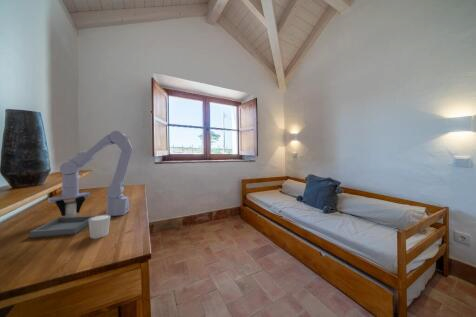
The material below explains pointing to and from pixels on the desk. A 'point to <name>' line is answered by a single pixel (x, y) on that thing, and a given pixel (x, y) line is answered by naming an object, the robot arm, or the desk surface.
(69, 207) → the shaker
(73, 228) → the tray
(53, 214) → the desk surface
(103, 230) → the white cup
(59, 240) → the desk surface
